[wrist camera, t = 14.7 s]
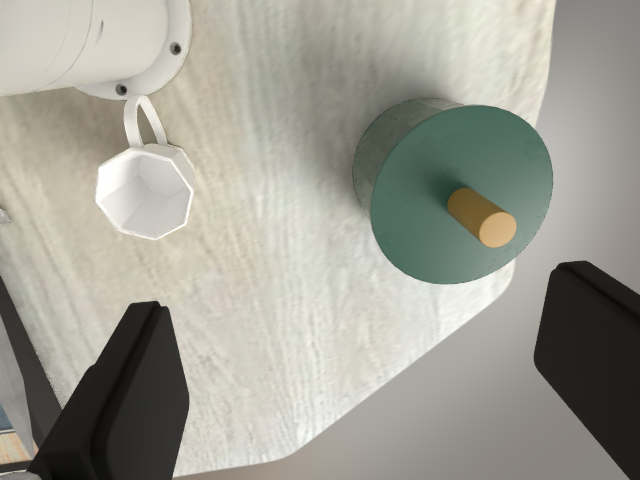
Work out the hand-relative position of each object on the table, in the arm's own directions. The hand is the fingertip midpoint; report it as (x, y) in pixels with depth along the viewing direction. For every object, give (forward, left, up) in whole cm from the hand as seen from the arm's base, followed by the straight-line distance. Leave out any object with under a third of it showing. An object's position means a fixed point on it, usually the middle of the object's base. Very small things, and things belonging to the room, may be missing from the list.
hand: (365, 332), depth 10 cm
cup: (+1, -12, -29) cm, 32 cm away
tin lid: (+4, +11, -20) cm, 23 cm away
